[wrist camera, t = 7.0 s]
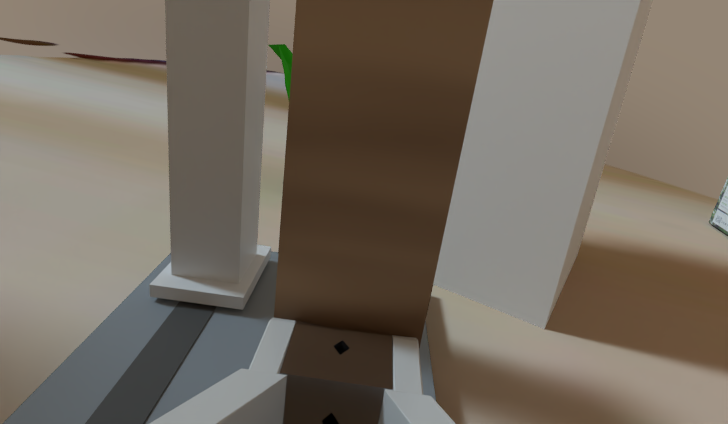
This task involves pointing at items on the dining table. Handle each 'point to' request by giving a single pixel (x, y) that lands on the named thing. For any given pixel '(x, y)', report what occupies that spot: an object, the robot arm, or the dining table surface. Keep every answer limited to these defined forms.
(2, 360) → the dining table surface
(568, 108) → the milk
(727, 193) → the syrup box
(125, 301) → the control board
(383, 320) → the walnut lever
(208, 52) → the grey lever
